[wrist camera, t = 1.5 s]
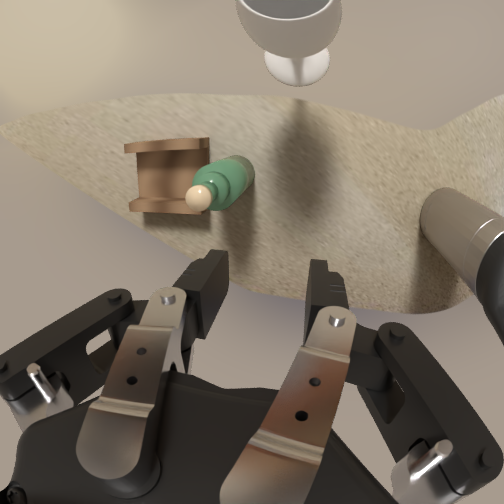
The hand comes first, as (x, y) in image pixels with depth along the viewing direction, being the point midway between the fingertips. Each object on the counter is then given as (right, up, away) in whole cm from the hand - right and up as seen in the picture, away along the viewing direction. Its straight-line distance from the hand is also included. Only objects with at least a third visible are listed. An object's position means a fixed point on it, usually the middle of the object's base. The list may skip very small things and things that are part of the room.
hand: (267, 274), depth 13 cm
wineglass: (+5, +27, +17) cm, 32 cm away
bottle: (-3, +12, +26) cm, 28 cm away
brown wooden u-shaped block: (-13, +13, +27) cm, 33 cm away
